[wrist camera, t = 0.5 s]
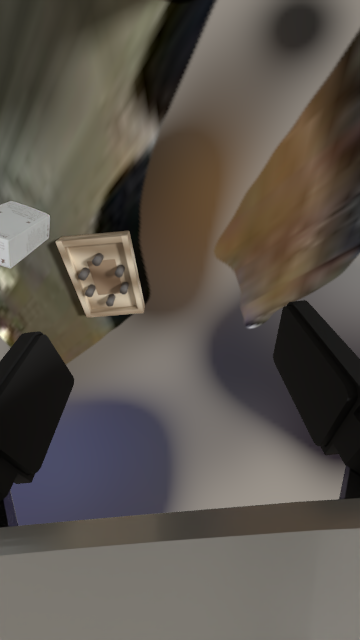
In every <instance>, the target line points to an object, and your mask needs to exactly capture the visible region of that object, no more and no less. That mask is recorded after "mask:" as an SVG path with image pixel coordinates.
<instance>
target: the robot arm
mask: <svg viewBox="0 0 360 640" xmlns="http://www.w3.org/2000/svg"><path fill="white" fill-rule="evenodd" d="M273 358H274V362H275V365H276V367H277V369H278V371H279V373H280V375H281V377H282V379H283V381H284V383H285V385H286V387H287V389H288V391H289V393H290V395H291V397H292V399H293V401H294V403H295V405H296V407H297V409H298V411H299V413H300V415H301V417H302V419H303V421H304V423H305V425H306V427H307V429H308V432H309V433H310V435H311V437H312V439H313V441H314V443H315V444H316V445H317V446H321V448H322V450H323V452H324V454H325V455H332V454H339V455H340V457H341V458H342V460H343V462H344V463H345V465H346V466H345V471H344V477H343V482H342V487H341V492H340V497H339V499H338V500H324V501H323V500H322V501H307V502H292V503H279V504H269V505H255V506H243V507H231V508H219V509H206V510H194V511H183V512H171V513H160V514H148V515H136V516H125V517H113V518H103V519H90V520H79V521H68V522H57V523H46V524H35V525H24V526H18V522H17V518H16V513H15V509H14V504H13V500H12V496H11V492H10V489H11V487H12V485H13V482H14V483H16V484H20V483H30V482H32V480H33V477H34V475H35V473H36V472H38V470H39V469H40V468H41V465H42V463H43V461H44V458H45V455H46V453H47V450H48V448H49V445H50V443H51V440H52V438H53V435H54V433H55V430H56V428H57V425H58V423H59V420H60V417H61V415H62V413H63V410H64V408H65V405H66V402H67V400H68V397H69V395H70V392H71V390H72V387H73V385H74V378H73V376H72V374H71V373H70V371H69V369H68V368H67V366H66V365H65V363H64V362H63V360H62V359H61V357H60V355H59V354H58V352H57V351H56V349H55V348H54V346H53V344H52V343H51V341H50V340H49V338H48V337H47V336H46V335H43V334H42V333H41V332H30V333H24V334H22V335H21V336H20V337H19V338H18V339H17V341H16V342H15V343H14V345H13V346H12V347H11V348H10V350H9V351H8V352H7V353H6V355H5V356H4V357H3V359H2V360H1V361H0V640H360V359H359V358H358V357H357V356H356V354H355V353H354V352H353V351H352V350H351V349H350V348H349V347H348V346H347V345H346V343H345V342H344V341H343V340H342V339H341V338H340V337H339V336H338V335H337V334H336V333H335V331H334V330H333V329H332V328H331V327H330V326H329V325H328V324H327V322H326V321H325V320H324V319H323V318H322V317H321V316H320V315H319V314H318V313H317V311H316V310H315V309H314V308H313V307H312V306H311V305H310V304H309V303H308V302H307V301H305V300H304V301H295V302H289V303H288V304H287V306H285V307H284V308H283V310H282V315H281V320H280V325H279V329H278V334H277V339H276V344H275V349H274V354H273Z"/></svg>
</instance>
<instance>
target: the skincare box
mask: <svg viewBox="0 0 360 640" xmlns="http://www.w3.org/2000/svg"><path fill="white" fill-rule="evenodd" d="M49 229H50V215H48V214H46V213H44V212H42V211H39V210H37V209H34V208H31V207H29V206H26V205H23V204H20V203H17V202H14V201H9V202H7V203H4V204H1V205H0V265H1V266H4V267H7V268H12V267H13V266H14V265H16V264H17V263H18V262H19V261H21V260H22V259H23V258H25V257H26V256H27V255H28V254H29V253H31V252H32V251H33V250H34V249H36V248H37V247H38V246H40V245H41V244H42V243H43V242H45V241H46V240H47V239H48V238H49Z"/></svg>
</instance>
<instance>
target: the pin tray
mask: <svg viewBox="0 0 360 640" xmlns="http://www.w3.org/2000/svg"><path fill="white" fill-rule="evenodd" d="M56 245H57V247H58V249H59V252H60V254H61V256H62V259H63V261H64V264H65V266H66V268H67V271H68V273H69V276H70V278H71V280H72V283H73V285H74V287H75V290H76V292H77V295H78V297H79V299H80V302H81V304H82V307H83V309H84V311H85V314H86V316H87V317H99V316H111V315H123V314H135V313H144V307H145V305H144V300H143V295H142V290H141V285H140V281H139V276H138V271H137V266H136V261H135V256H134V251H133V247H132V242H131V237H130V232H129V231H121V232H109V233H98V234H86V235H75V236H63V237H60V238H59V239H58V240H57V241H56Z"/></svg>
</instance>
